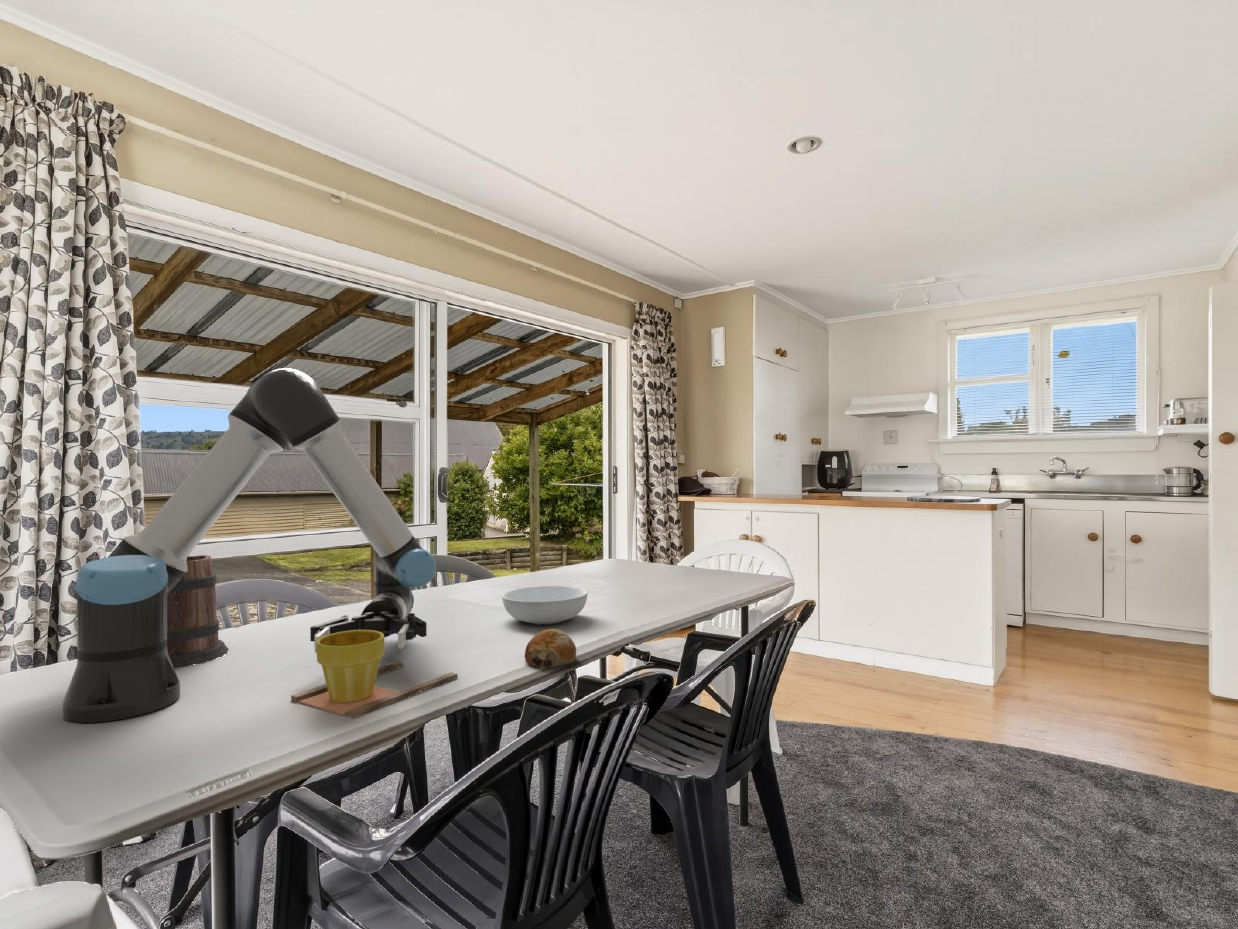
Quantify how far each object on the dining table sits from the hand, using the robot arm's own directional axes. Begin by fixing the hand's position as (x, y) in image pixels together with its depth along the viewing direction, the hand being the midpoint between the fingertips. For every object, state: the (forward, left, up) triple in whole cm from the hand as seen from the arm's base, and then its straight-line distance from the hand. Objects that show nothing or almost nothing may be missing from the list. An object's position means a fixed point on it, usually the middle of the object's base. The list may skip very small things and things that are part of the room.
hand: (358, 642), depth 114 cm
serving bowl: (+57, +4, -8) cm, 58 cm away
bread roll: (+30, -18, -8) cm, 36 cm away
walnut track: (+2, -2, -8) cm, 9 cm away
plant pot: (-3, -2, -8) cm, 9 cm away
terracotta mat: (-3, -2, -8) cm, 9 cm away
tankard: (-4, +52, -8) cm, 53 cm away
